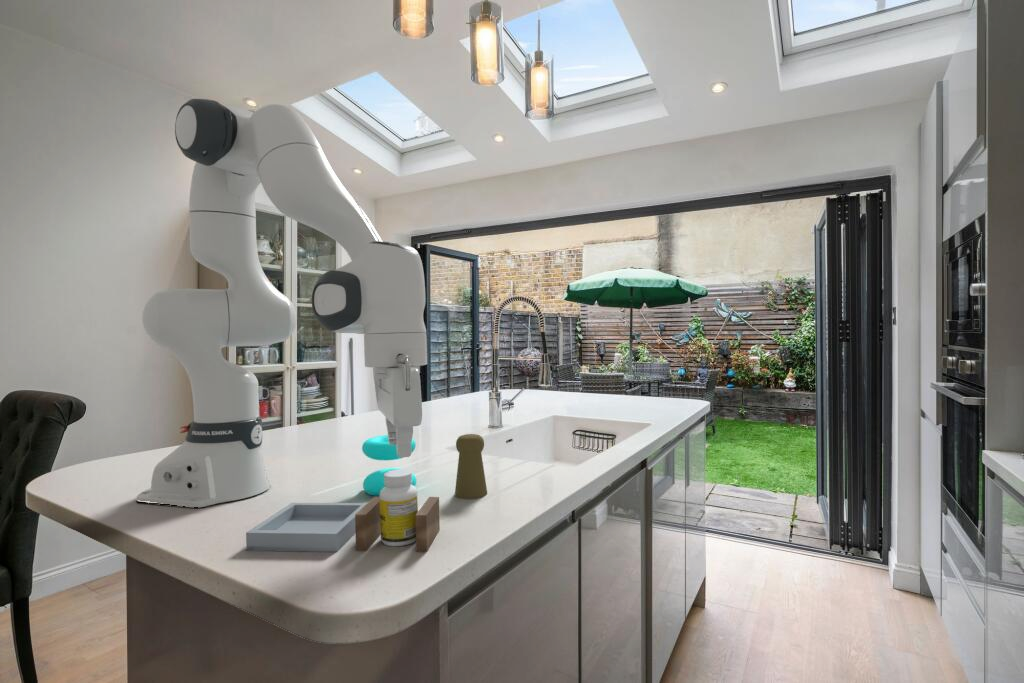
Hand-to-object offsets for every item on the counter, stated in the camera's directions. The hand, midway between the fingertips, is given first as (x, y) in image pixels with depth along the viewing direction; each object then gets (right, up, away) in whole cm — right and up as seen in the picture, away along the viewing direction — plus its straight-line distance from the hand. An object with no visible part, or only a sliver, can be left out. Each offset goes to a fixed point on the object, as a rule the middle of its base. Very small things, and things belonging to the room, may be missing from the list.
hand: (399, 450), depth 76 cm
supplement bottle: (0, -13, +1) cm, 13 cm away
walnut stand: (0, -13, +1) cm, 13 cm away
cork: (+9, -13, +22) cm, 27 cm away
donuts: (-7, -13, +25) cm, 29 cm away
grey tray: (-14, -13, +4) cm, 20 cm away
